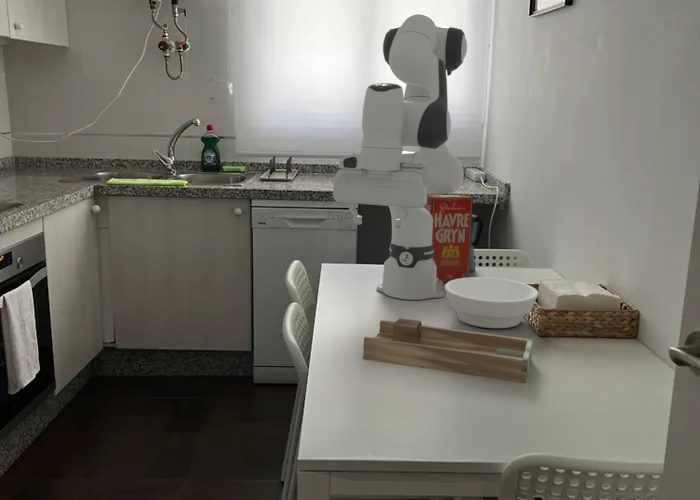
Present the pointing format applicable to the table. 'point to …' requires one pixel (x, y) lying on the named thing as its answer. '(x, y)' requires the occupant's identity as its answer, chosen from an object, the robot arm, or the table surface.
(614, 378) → the table surface
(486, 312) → the bowl
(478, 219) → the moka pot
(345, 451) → the table surface
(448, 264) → the food packaging
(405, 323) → the walnut block
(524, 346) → the trap lane
